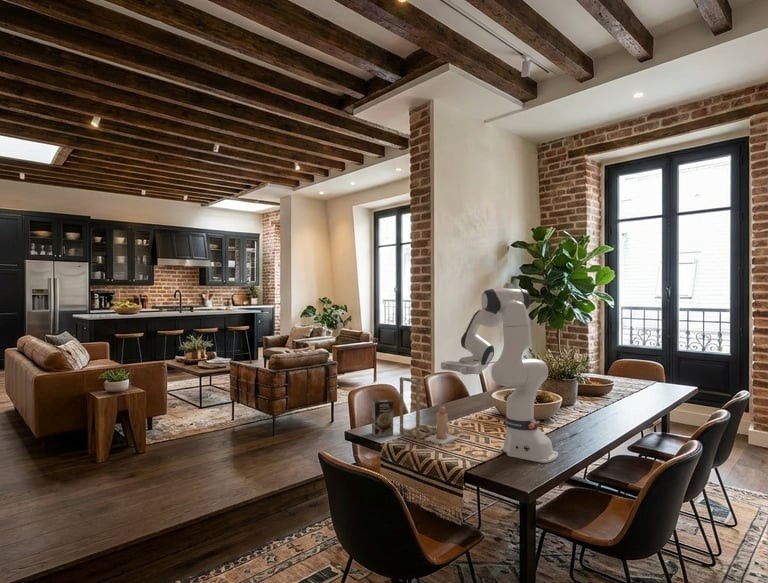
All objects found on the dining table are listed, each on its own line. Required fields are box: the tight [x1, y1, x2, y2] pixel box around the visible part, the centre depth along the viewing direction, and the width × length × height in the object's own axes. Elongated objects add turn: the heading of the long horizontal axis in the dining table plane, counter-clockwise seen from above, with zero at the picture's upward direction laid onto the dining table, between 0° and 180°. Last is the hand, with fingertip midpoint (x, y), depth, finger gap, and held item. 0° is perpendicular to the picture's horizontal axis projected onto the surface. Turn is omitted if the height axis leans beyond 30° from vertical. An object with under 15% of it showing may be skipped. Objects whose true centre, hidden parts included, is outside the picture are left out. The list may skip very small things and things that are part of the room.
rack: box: [399, 376, 437, 440], centre depth 221 cm, size 11×14×27 cm
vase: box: [435, 405, 449, 439], centre depth 212 cm, size 5×5×14 cm
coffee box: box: [371, 398, 394, 438], centre depth 220 cm, size 9×6×16 cm
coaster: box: [424, 433, 459, 446], centre depth 212 cm, size 10×12×1 cm
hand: (450, 369), depth 226 cm, fingers open, 8 cm apart
